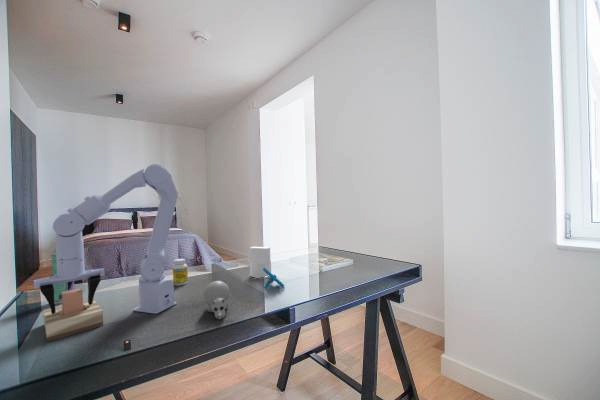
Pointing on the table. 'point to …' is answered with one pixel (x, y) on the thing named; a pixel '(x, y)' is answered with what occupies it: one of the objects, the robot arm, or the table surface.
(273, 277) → the teal crossed bar figure
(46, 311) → the socket block
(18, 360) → the table surface
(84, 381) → the table surface
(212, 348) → the table surface
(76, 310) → the peg
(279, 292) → the table surface
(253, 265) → the white rectangular block
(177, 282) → the supplement bottle
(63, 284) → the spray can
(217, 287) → the grey skull
